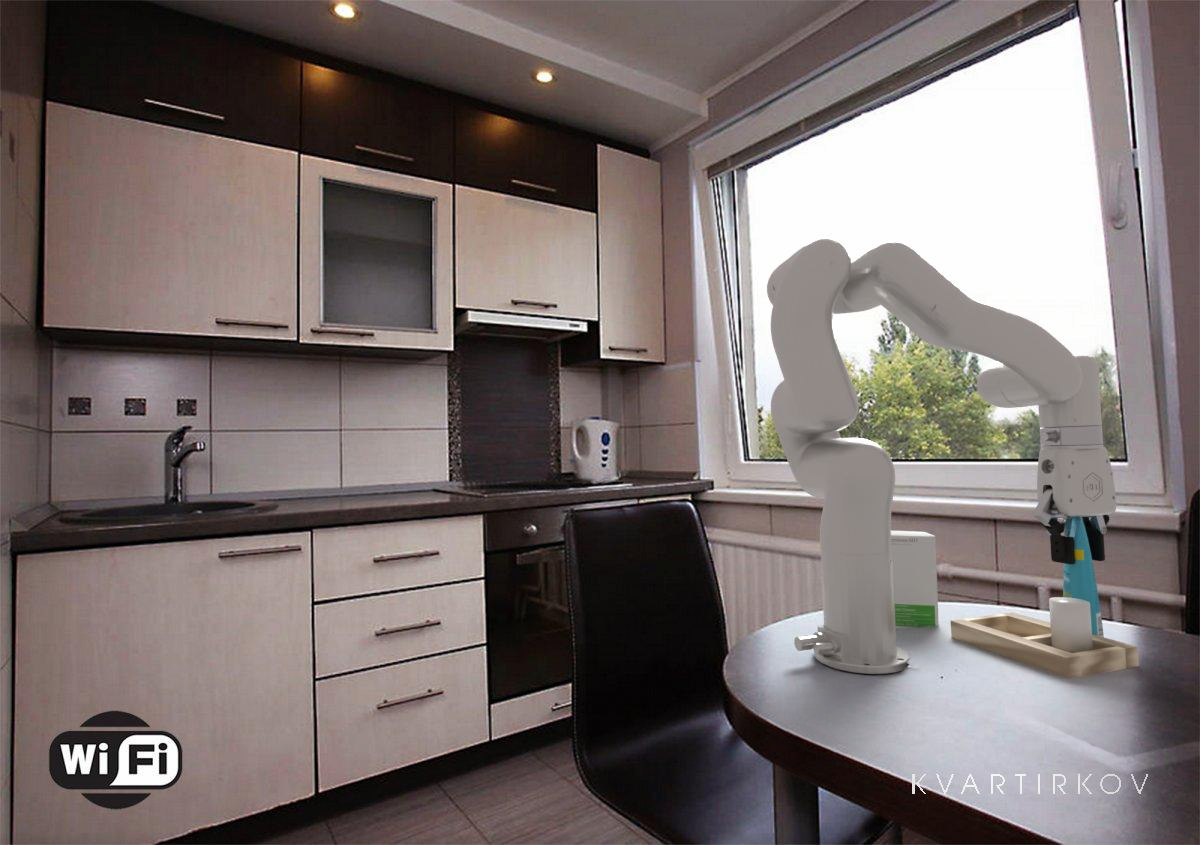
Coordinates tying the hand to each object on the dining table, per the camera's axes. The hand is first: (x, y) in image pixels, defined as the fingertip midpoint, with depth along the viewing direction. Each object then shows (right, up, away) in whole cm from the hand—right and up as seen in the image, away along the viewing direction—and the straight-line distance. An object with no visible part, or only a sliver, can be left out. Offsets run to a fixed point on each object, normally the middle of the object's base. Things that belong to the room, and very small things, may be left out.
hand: (1078, 559), depth 94 cm
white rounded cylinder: (-8, -11, -10) cm, 17 cm away
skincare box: (-20, -14, +12) cm, 27 cm away
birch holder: (-10, -13, -5) cm, 17 cm away
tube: (0, -13, -1) cm, 13 cm away
